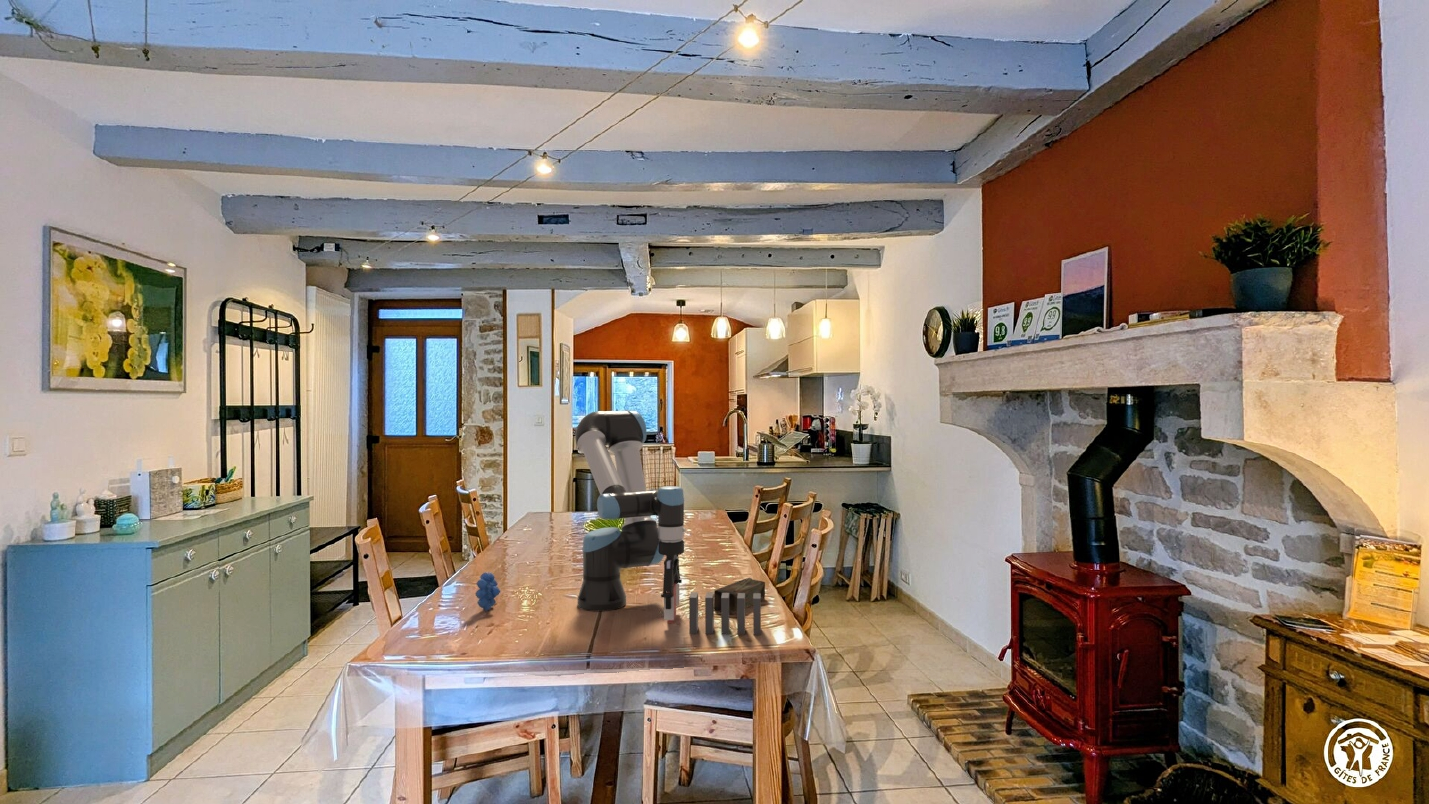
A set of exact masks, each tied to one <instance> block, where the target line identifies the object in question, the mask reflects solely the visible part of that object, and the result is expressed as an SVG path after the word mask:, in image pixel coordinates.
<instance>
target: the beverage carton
mask: <svg viewBox="0 0 1429 804" xmlns="http://www.w3.org/2000/svg"><path fill="white" fill-rule="evenodd" d="M713 593H714V611H715V610H716V611H718V612H719V611H720V612H721V596H722V593H729V614H731V615H732V614H737V596H738V593H745V609H747V608H749V607H751V606H753V593H761V601H764V600H765V598H766V582H765V581H763V580H758V579H753V578H752V577H747V578H744V579H741V580H738V581H736V582H732V583H731V584H728V585H725V586H722V587H720V588H717V589H715V590H713Z"/></svg>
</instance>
